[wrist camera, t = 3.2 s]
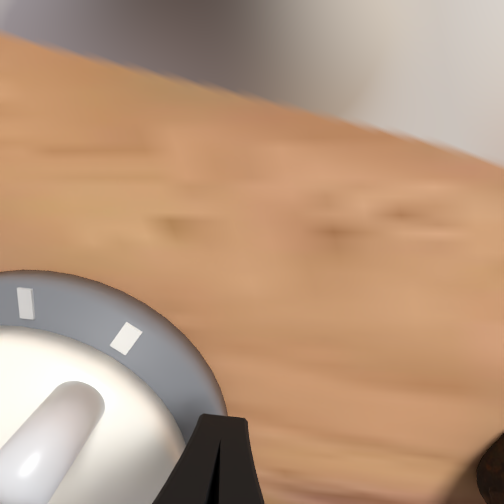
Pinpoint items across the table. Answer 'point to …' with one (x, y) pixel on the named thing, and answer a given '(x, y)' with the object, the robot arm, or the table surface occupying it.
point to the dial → (78, 425)
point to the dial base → (116, 336)
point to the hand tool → (492, 474)
